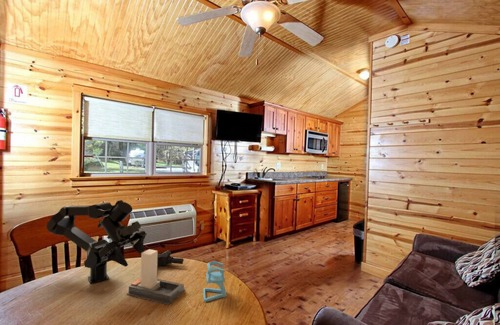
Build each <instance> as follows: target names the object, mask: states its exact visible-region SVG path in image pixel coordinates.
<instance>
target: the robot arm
mask: <svg viewBox="0 0 500 325" xmlns="http://www.w3.org/2000/svg"><path fill="white" fill-rule="evenodd" d="M131 212H133V206H132V205H131V204H129V203H127V202H126V201H124V200H122V199H119V200H116V202H115V204H114V205H113V204H112V203H111V202H109V201H108V202H107V201H105V202H102V203H96V204H91V205H74V204H71V205H67V206H62V207H61V208H60V209H59V211H57V213H55V214H54V215H53V216H52V217H51V218H49V220H48V221H47V224H46V229H47V231H48V232H49V233H50V234H53V235H55V236H56V235H57V236H63V237H65V238H66V239H68V240H70V241H71V242H72V243H74V244H75V245H77V246H78V247H79V248H81V250H84V251H85V252H86V256H87V258H86V259H85V260H84V261H83V264H84V268H88V269H89V271H90V272H89V276H87V279H88V281H89V284H90V285H92V284H96V283H100V282H103V281H107V280H109V279H110V276H109V275H108V274H107V273H108V272H107V270H108V268H107V267H108V265H107V264H108V263H109V262H111V261H112V262H114V263H116V264H117V263H118V264H119V265H121V266H123V267H128V266H129V264H128V262H127V260H126V259H125V256H124V255H123V254H122V251H121V250H122V249H121V248H122V247H124V246H127V245H129V244H130V245H132V246H131V247H132V248H133V250H135V251H136V252H137V253H138V254H139V255H140V256H141V253H143V252H145V251H146V249H145V246H144V241H145V239H146V236H147V232H146V231H145V230H140V229H141V227H142V226H141V224H140V222H139V221H138V220H137V221H134V222H131V225H128V226H127V225H125V224H124V225H123V224H122V222H124V221H125V220H126V218H127V217H128V216H129V215H130V214H131ZM76 216H85V217H89V219H94V220H96V219H97V220H98V219H99V221H98V224H97V228H98V229H99V228H103V229H104V230H105V232H106V234H107V236H106V239H105V238H104V239H101V240H95V239H94V238H93V237H91V236H90V235H89V234H87V233H85V232H84V231H82V230H81V229H80V228H78V227H76V226H75V221H76ZM102 218H103V219H102ZM100 219H101V220H100ZM110 239H111V241H110V242H109V241H107V240H110Z"/></svg>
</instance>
